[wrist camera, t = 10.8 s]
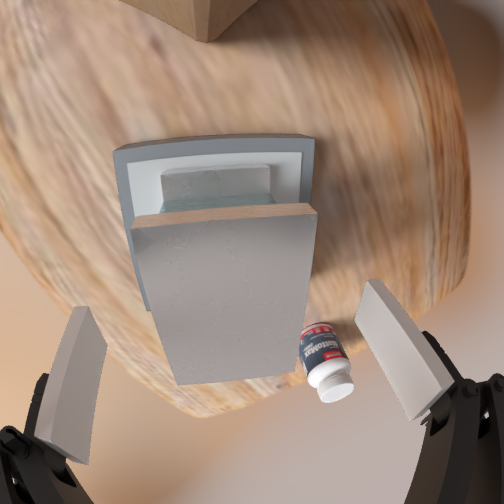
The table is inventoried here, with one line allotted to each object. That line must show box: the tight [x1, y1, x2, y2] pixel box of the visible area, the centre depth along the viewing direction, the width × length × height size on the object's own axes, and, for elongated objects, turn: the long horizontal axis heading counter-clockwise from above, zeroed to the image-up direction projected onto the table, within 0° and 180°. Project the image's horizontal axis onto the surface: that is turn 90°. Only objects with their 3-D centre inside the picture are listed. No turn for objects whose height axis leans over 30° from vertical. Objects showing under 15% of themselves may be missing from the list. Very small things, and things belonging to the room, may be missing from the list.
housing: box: [130, 163, 318, 385], centre depth 16 cm, size 7×10×9 cm
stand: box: [113, 134, 315, 311], centre depth 21 cm, size 14×14×3 cm
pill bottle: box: [298, 323, 354, 403], centre depth 29 cm, size 5×5×9 cm
